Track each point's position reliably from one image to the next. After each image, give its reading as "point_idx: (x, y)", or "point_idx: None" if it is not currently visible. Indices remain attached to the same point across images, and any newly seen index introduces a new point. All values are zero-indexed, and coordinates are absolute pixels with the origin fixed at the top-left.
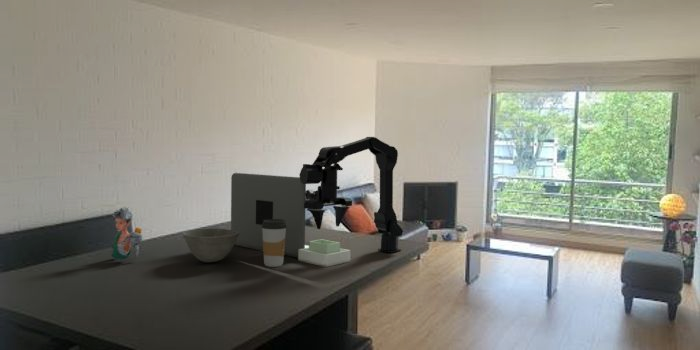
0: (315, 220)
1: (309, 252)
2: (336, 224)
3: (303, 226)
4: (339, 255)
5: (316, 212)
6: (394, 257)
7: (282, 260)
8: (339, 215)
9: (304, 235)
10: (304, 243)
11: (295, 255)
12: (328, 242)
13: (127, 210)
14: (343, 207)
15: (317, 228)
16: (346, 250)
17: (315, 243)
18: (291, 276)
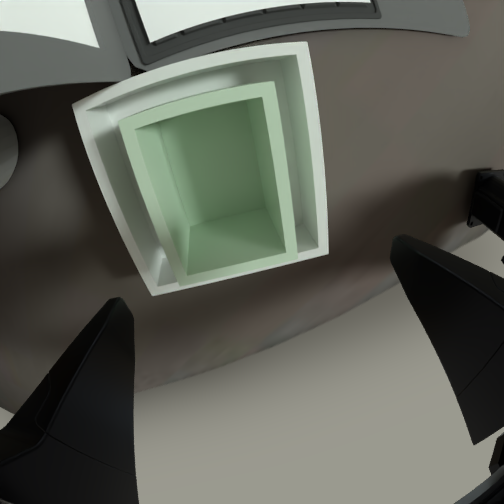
0: (63, 375)
1: (104, 192)
2: (401, 251)
3: (17, 90)
4: None
5: (59, 477)
6: (448, 241)
7: (3, 182)
8: (456, 347)
9: (80, 82)
10: (108, 81)
11: (116, 27)
12: (271, 164)
13: None
14: (483, 439)
15: (110, 301)
16: (317, 239)
17: (141, 188)
18: (33, 308)
